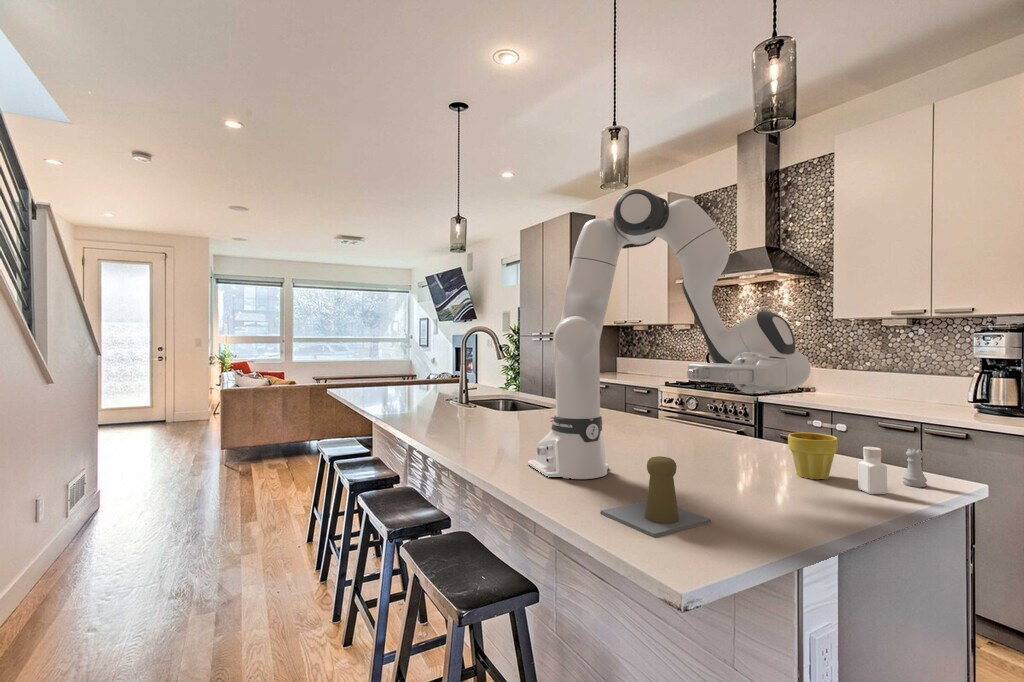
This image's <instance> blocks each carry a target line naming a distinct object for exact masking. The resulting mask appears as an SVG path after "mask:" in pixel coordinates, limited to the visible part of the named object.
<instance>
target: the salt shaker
mask: <svg viewBox="0 0 1024 682" xmlns="http://www.w3.org/2000/svg"><path fill="white" fill-rule="evenodd" d="M862 453H863V454H862V456H863V461H860V462H858V464H857V476H858V477H857V479H858V480H857V481H858V486H857V487H858V490H859V491H861V490H862V492H864V493H866V494H869V495H887V494H888V467H887V465H886V464H884V463H882V448H880V447H877V446H876V447H875V446H863V448H862Z"/></svg>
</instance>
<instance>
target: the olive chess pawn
mask: <svg viewBox="0 0 1024 682" xmlns="http://www.w3.org/2000/svg"><path fill="white" fill-rule="evenodd" d="M646 463H647V464H646V470H647V473H648V474H649V482H648V488H647V489H648V490H647V497H646V501H647V503H646V511H645V518H646V519H647V520H649V521H652V522H656V523H662V524H671V523H676V522H678V521H679V515H678V508H679V507H678V502H677V493H676V486H675V480H674V476H675V475H676V472H677V463H676V461H675V460H674V459H673V458H671V457H668V456H660V455H659V456H653V457H650V458H649V459H648V460H647V462H646ZM677 507H678V508H677Z"/></svg>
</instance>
